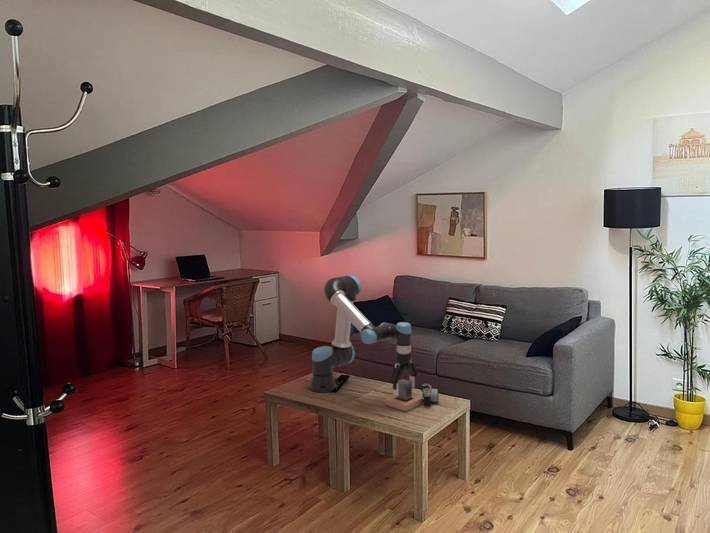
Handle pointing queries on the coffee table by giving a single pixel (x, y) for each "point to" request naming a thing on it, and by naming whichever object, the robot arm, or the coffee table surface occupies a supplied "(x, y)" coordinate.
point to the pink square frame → (404, 403)
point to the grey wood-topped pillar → (404, 390)
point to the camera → (429, 395)
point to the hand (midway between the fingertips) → (404, 391)
